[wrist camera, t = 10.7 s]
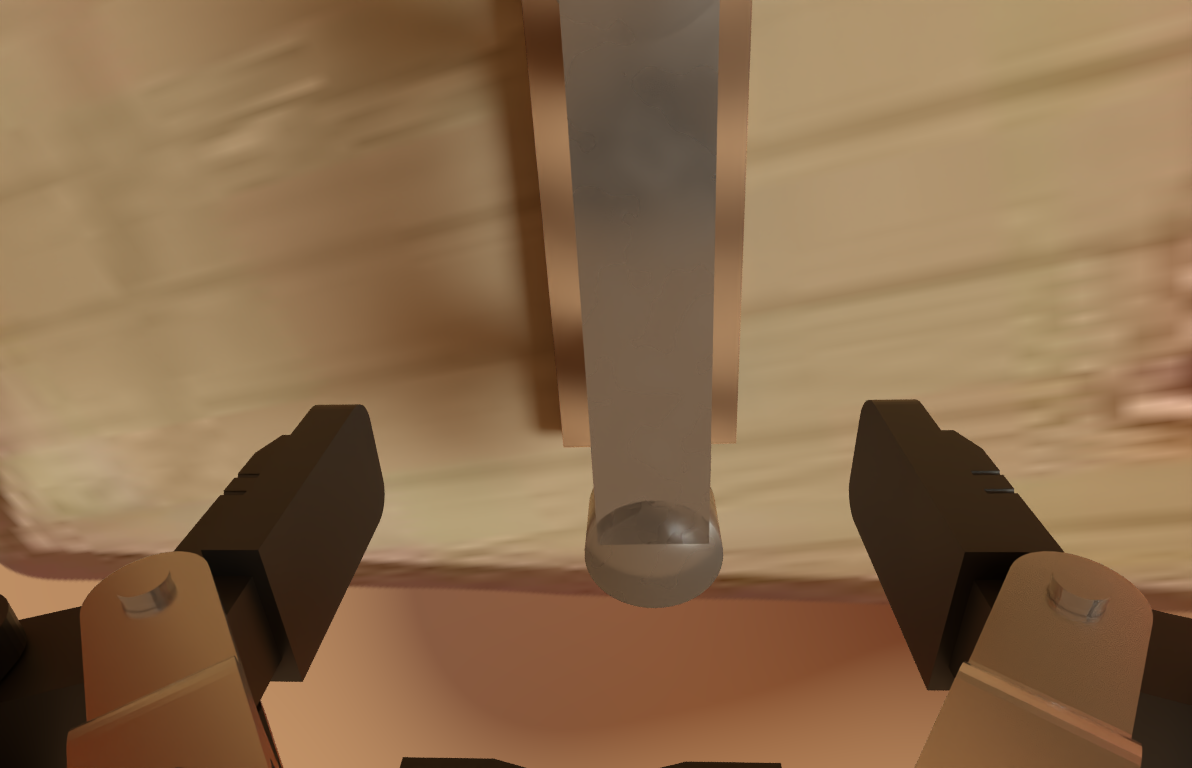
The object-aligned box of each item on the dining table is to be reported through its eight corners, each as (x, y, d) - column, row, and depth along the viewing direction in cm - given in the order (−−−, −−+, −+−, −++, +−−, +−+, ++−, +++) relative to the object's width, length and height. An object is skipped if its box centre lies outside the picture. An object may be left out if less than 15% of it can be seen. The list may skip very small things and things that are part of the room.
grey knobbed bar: (537, -168, 16) (521, -197, 14) (731, -184, 16) (747, -216, 14) (592, 557, 26) (589, 608, 24) (714, 556, 26) (721, 607, 24)
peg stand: (516, -114, 25) (455, -180, 16) (750, -133, 24) (812, -211, 16) (566, 430, 35) (544, 564, 26) (731, 426, 34) (763, 561, 26)
